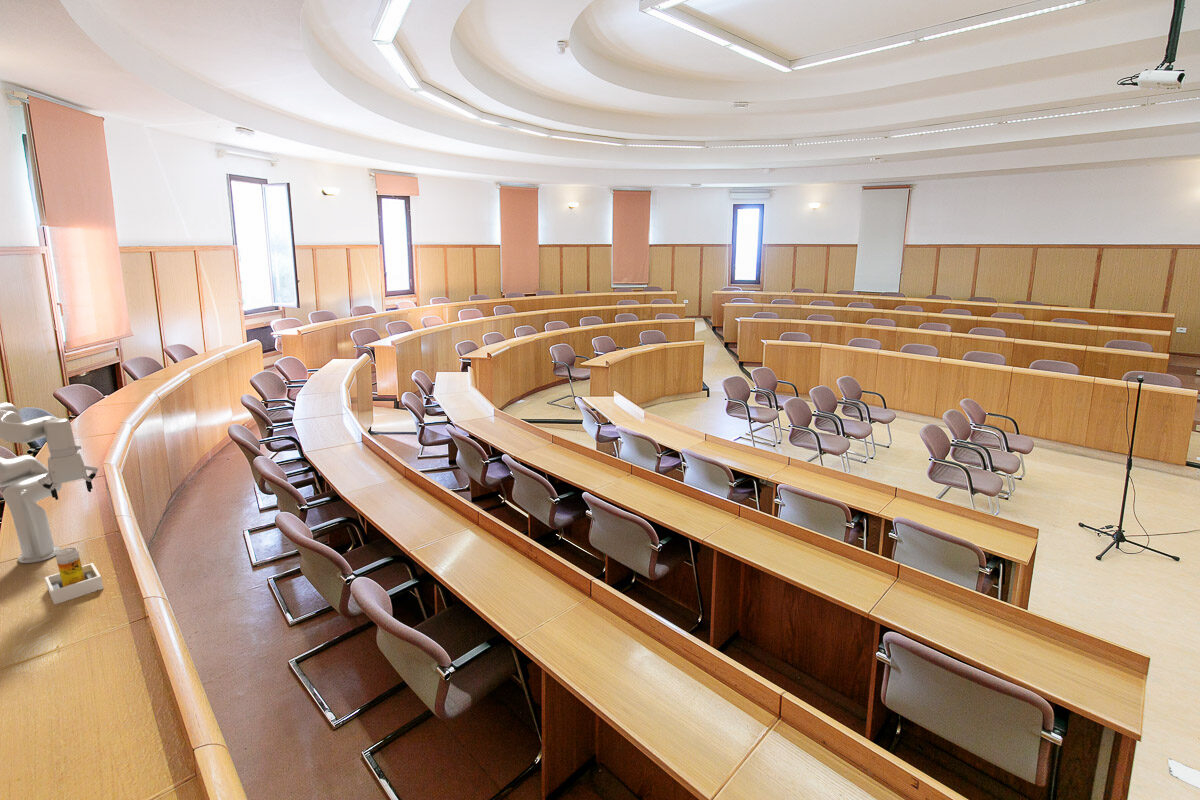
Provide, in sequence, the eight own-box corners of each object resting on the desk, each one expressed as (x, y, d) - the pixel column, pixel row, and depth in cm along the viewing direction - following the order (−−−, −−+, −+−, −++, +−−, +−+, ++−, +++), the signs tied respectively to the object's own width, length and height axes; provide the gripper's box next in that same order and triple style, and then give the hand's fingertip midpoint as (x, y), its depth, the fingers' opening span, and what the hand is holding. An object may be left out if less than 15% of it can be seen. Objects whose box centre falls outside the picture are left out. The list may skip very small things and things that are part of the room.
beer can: (73, 594, 219) (64, 556, 215) (59, 592, 220) (50, 554, 216) (90, 585, 224) (81, 548, 221) (77, 583, 226) (68, 546, 222)
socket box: (47, 589, 222) (44, 577, 220) (95, 574, 231) (92, 562, 230) (54, 604, 213) (51, 591, 212) (103, 588, 223) (100, 576, 221)
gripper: (90, 444, 237) (99, 485, 241) (30, 455, 224) (41, 498, 229) (94, 448, 232) (104, 490, 236) (33, 460, 219) (44, 504, 224)
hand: (73, 494), depth 233 cm, fingers open, 9 cm apart
